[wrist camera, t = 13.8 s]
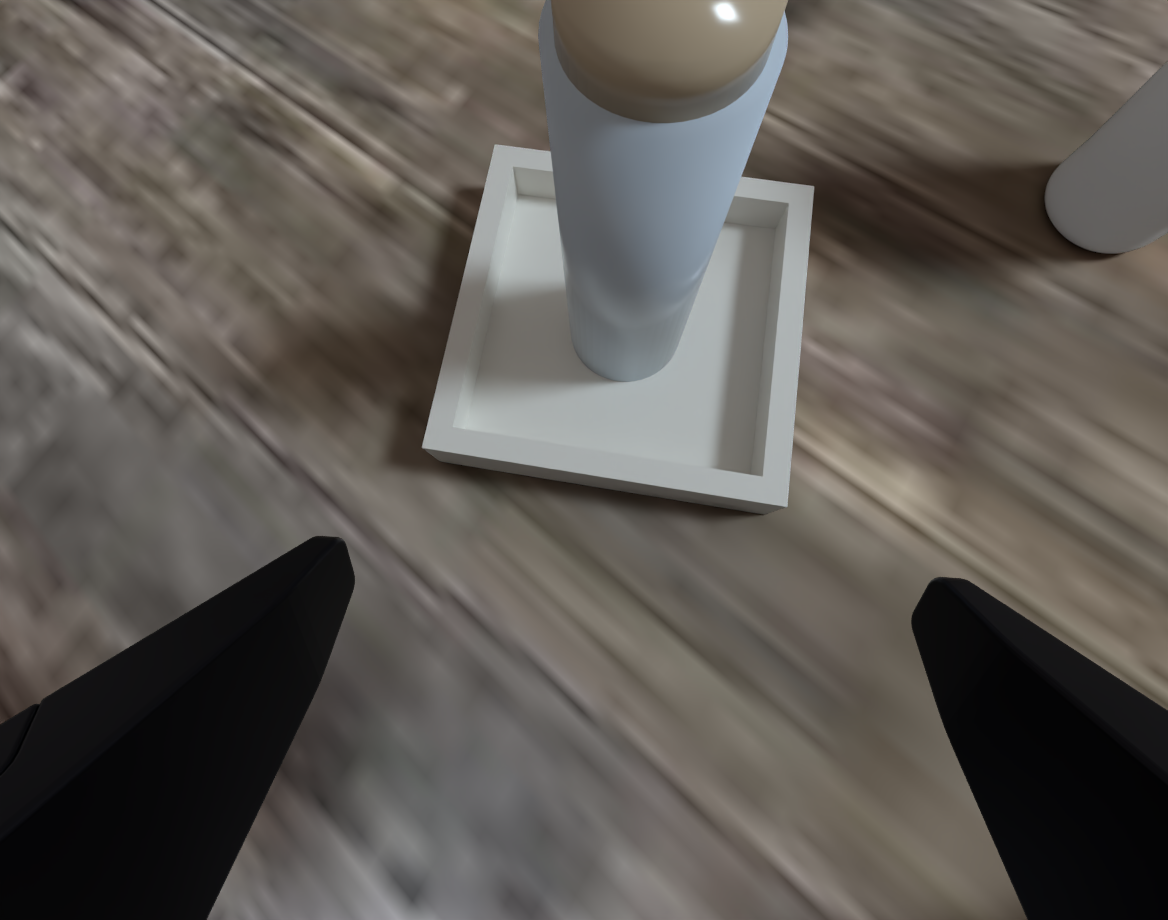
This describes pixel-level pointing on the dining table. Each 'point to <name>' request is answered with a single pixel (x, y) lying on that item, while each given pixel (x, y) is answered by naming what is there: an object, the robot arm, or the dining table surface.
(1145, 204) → the drinking glass
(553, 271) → the white square dish
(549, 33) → the spice jar
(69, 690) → the robot arm
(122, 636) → the dining table surface
